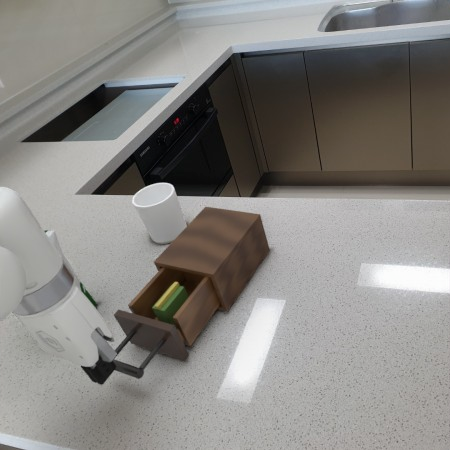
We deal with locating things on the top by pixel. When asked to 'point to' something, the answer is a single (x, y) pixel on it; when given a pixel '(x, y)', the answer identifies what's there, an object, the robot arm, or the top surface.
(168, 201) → the mug
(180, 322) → the drawer
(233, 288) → the cabinet
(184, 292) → the green sponge
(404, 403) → the top surface
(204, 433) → the top surface
